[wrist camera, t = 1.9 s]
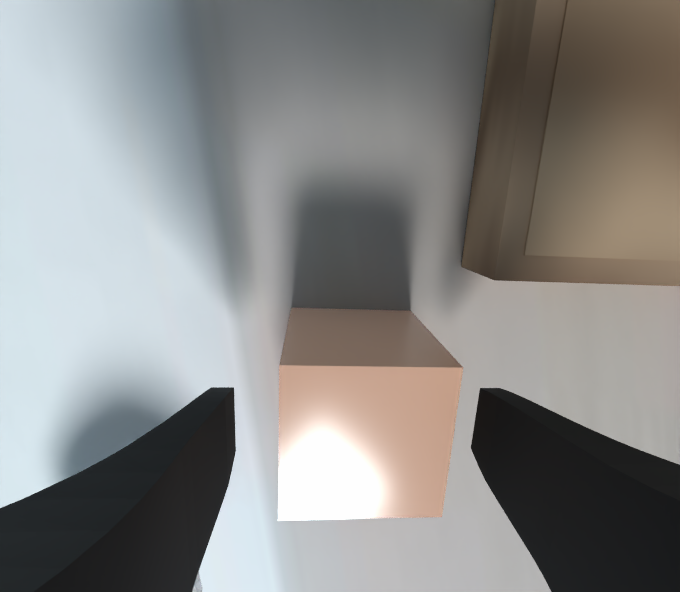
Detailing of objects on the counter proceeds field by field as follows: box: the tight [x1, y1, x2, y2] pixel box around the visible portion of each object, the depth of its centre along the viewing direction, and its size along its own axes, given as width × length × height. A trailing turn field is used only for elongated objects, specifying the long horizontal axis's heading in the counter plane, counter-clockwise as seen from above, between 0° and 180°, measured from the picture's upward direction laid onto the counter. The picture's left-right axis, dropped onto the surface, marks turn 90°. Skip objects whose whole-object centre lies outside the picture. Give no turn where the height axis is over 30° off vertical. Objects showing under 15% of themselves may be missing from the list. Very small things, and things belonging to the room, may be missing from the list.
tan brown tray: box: [461, 0, 680, 286], centre depth 11 cm, size 10×10×3 cm
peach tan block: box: [278, 308, 463, 521], centre depth 12 cm, size 4×4×5 cm
